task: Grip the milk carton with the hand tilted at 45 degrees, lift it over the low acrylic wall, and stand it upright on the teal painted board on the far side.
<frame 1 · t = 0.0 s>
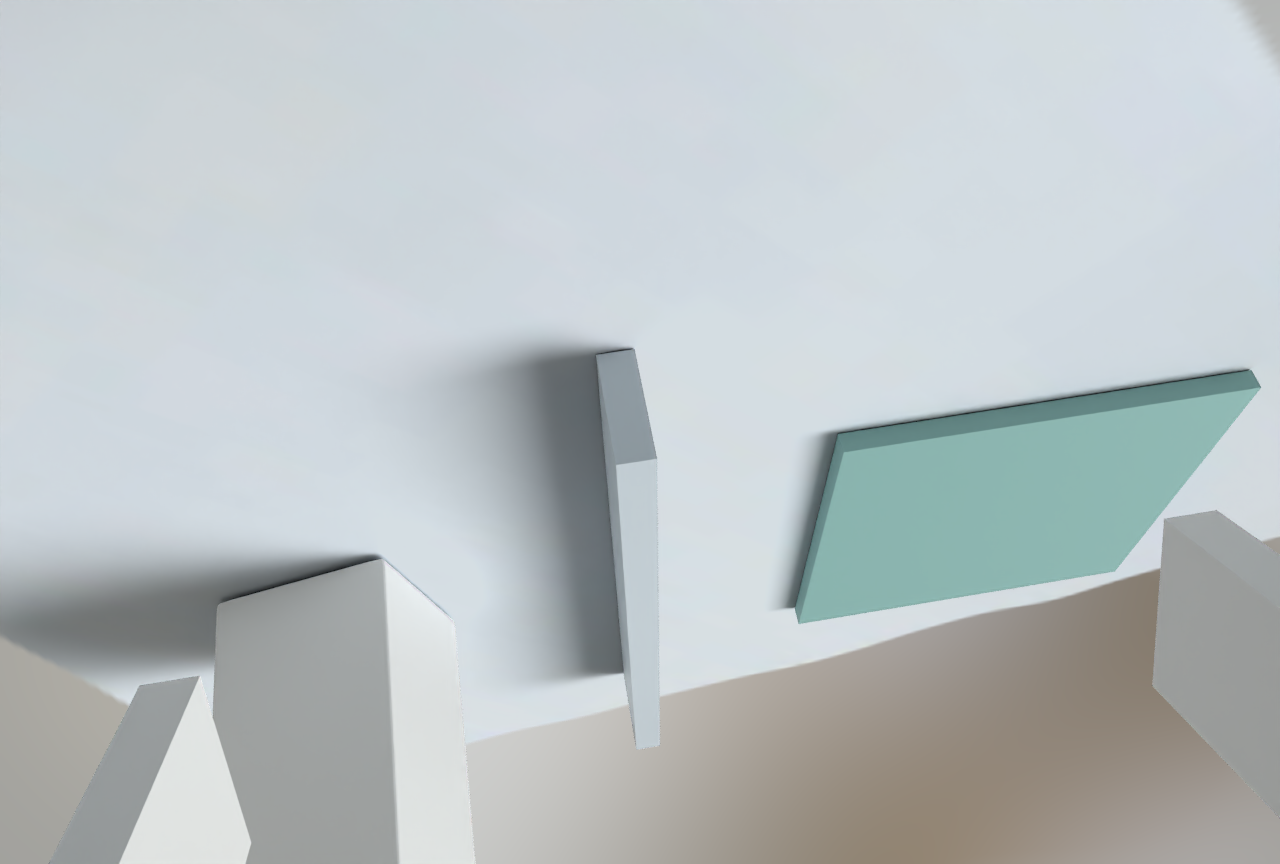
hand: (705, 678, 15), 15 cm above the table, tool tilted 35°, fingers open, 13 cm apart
milk carton: (341, 604, 46), on the table
acrylic wall: (627, 552, 46), on the table
teal board: (993, 504, 48), on the table
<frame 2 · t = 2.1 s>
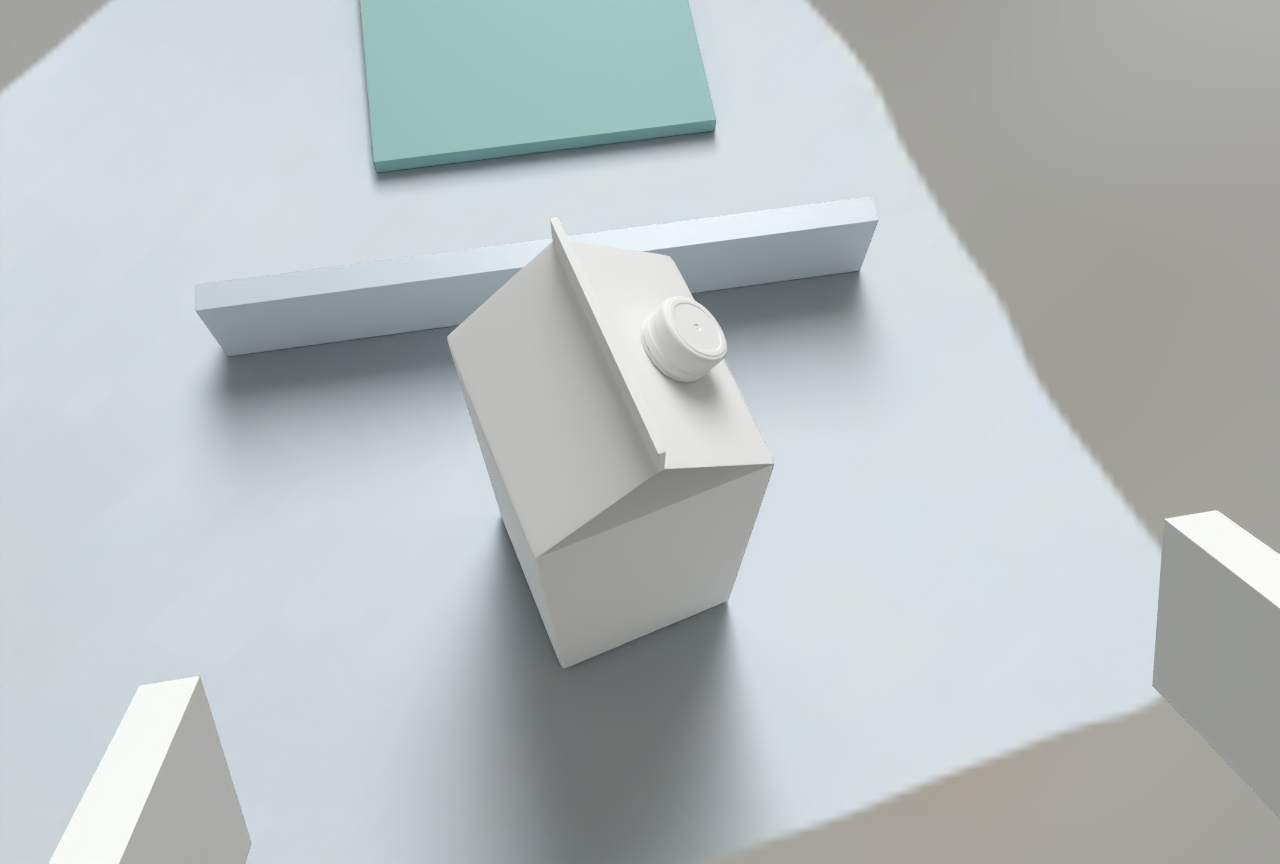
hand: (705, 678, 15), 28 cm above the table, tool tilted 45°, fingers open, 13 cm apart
milk carton: (612, 556, 45), on the table
acrylic wall: (549, 300, 49), on the table
teal board: (527, 21, 56), on the table
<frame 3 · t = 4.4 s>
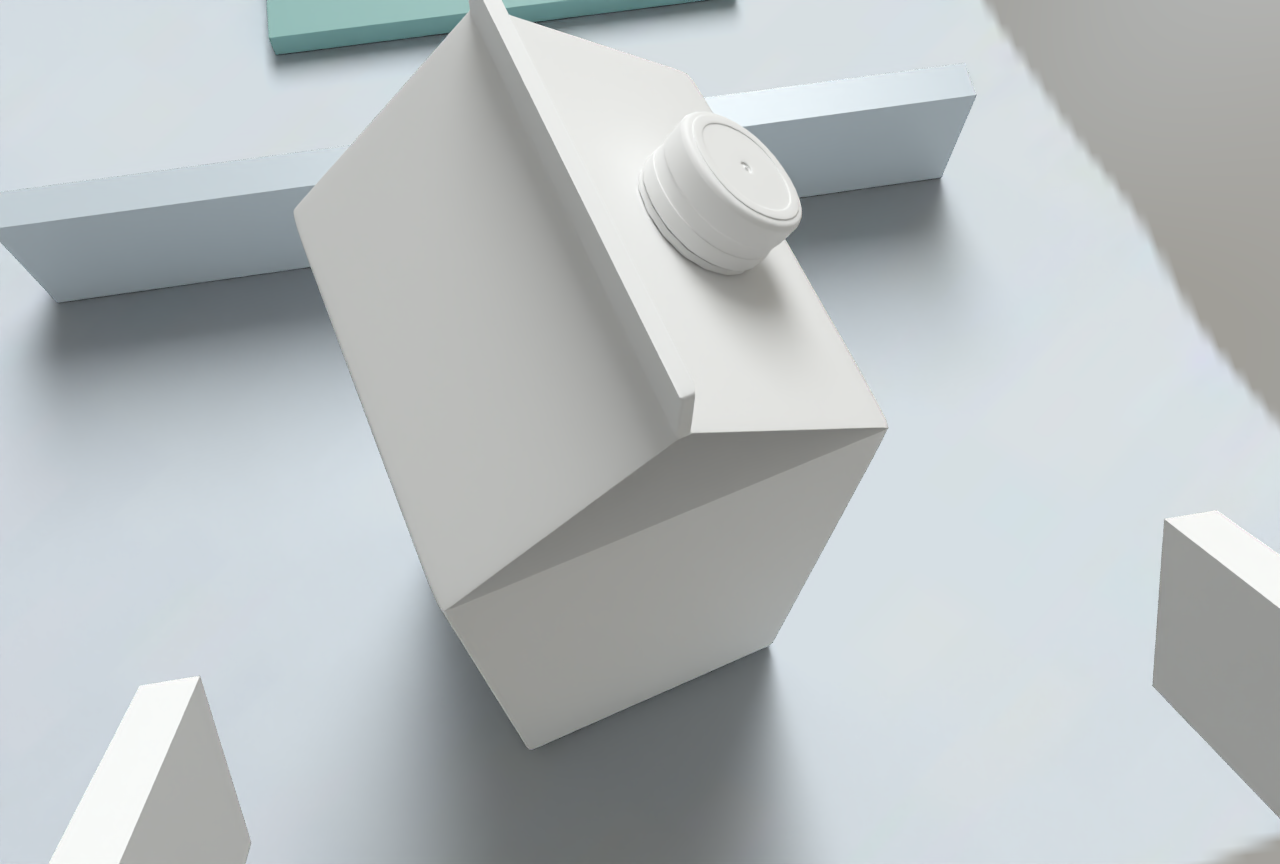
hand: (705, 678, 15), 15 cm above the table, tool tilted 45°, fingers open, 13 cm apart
milk carton: (601, 581, 31), on the table
acrylic wall: (510, 222, 35), on the table
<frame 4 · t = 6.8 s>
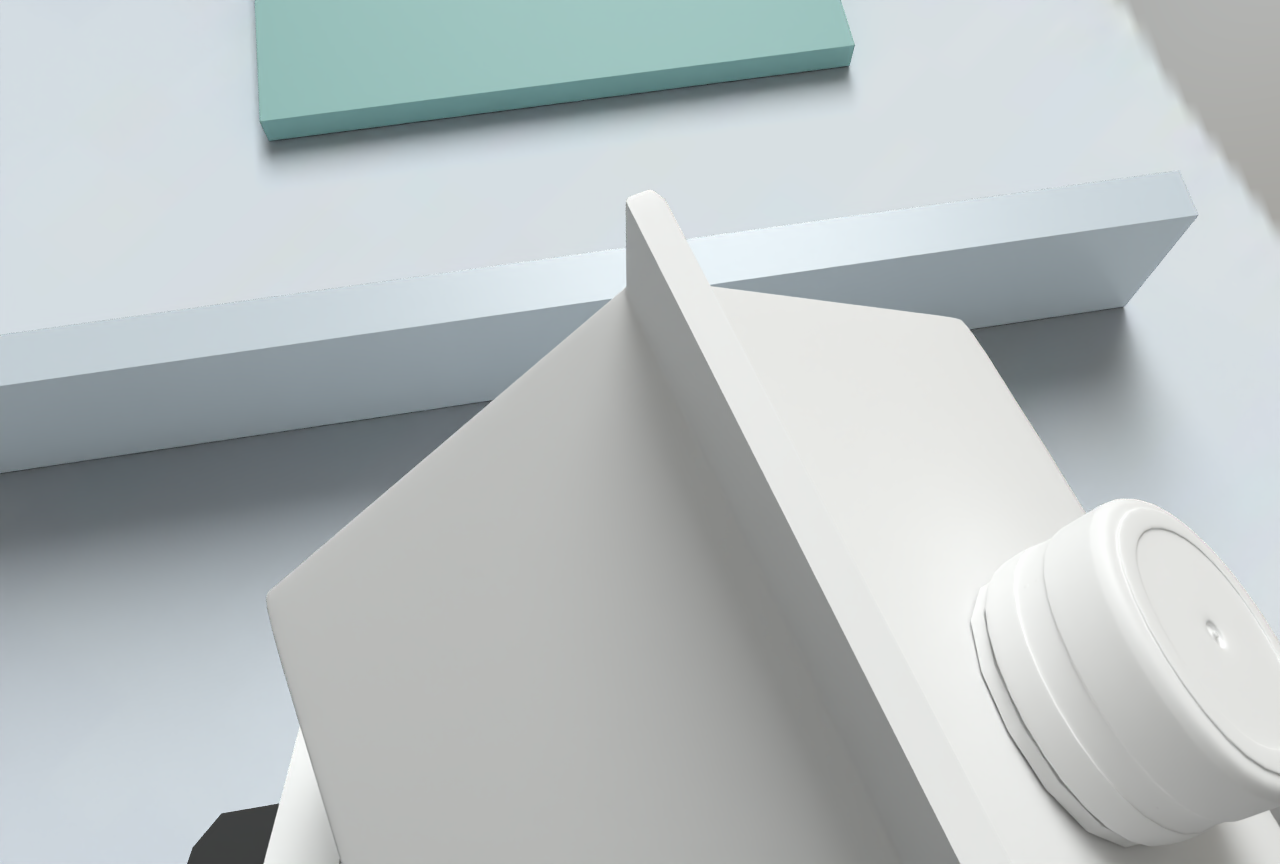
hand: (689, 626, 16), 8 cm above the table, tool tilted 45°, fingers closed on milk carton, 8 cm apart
acrylic wall: (569, 366, 27), on the table
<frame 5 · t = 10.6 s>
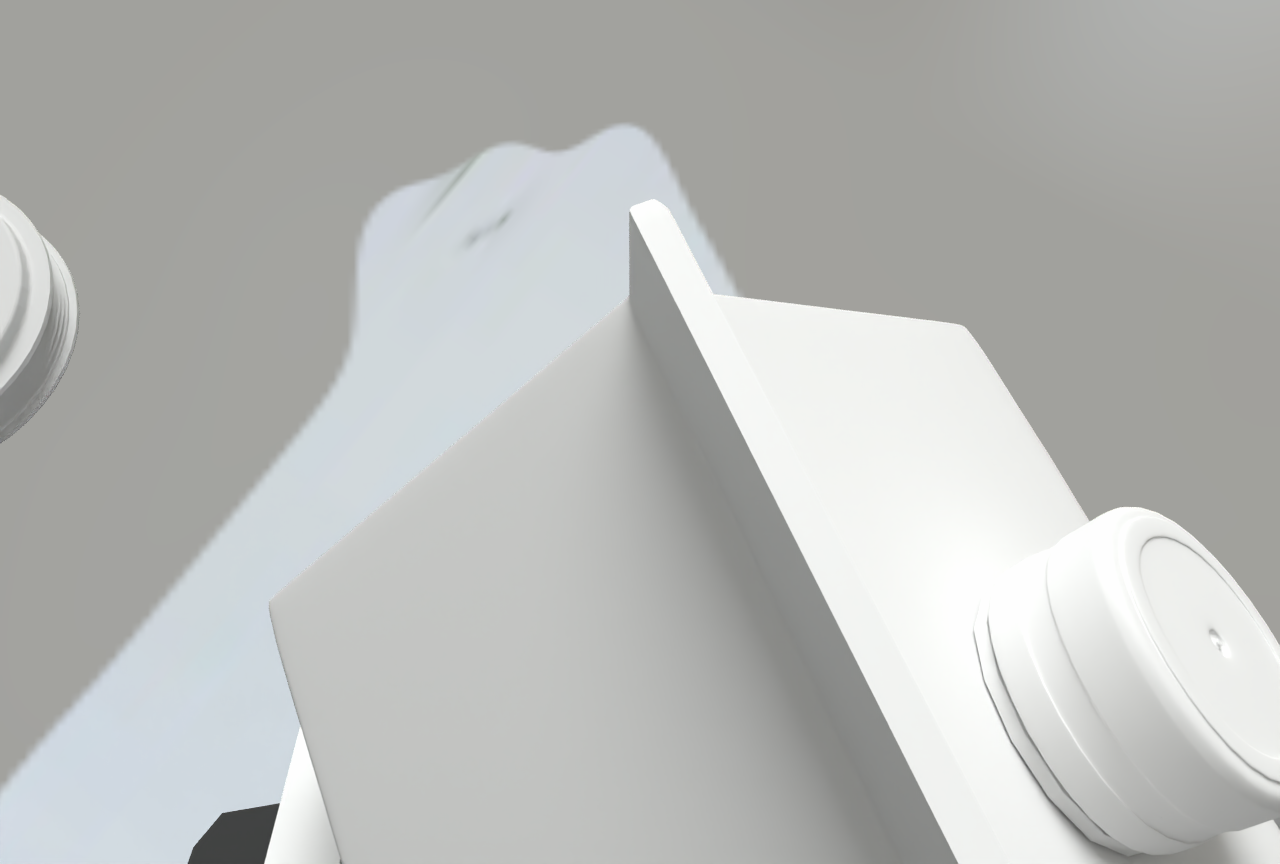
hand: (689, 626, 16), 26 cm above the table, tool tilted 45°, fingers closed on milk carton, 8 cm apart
when the fingers open (11 cm above the table, at t = 14.5 s): milk carton drops 2 cm, resting on teal board.
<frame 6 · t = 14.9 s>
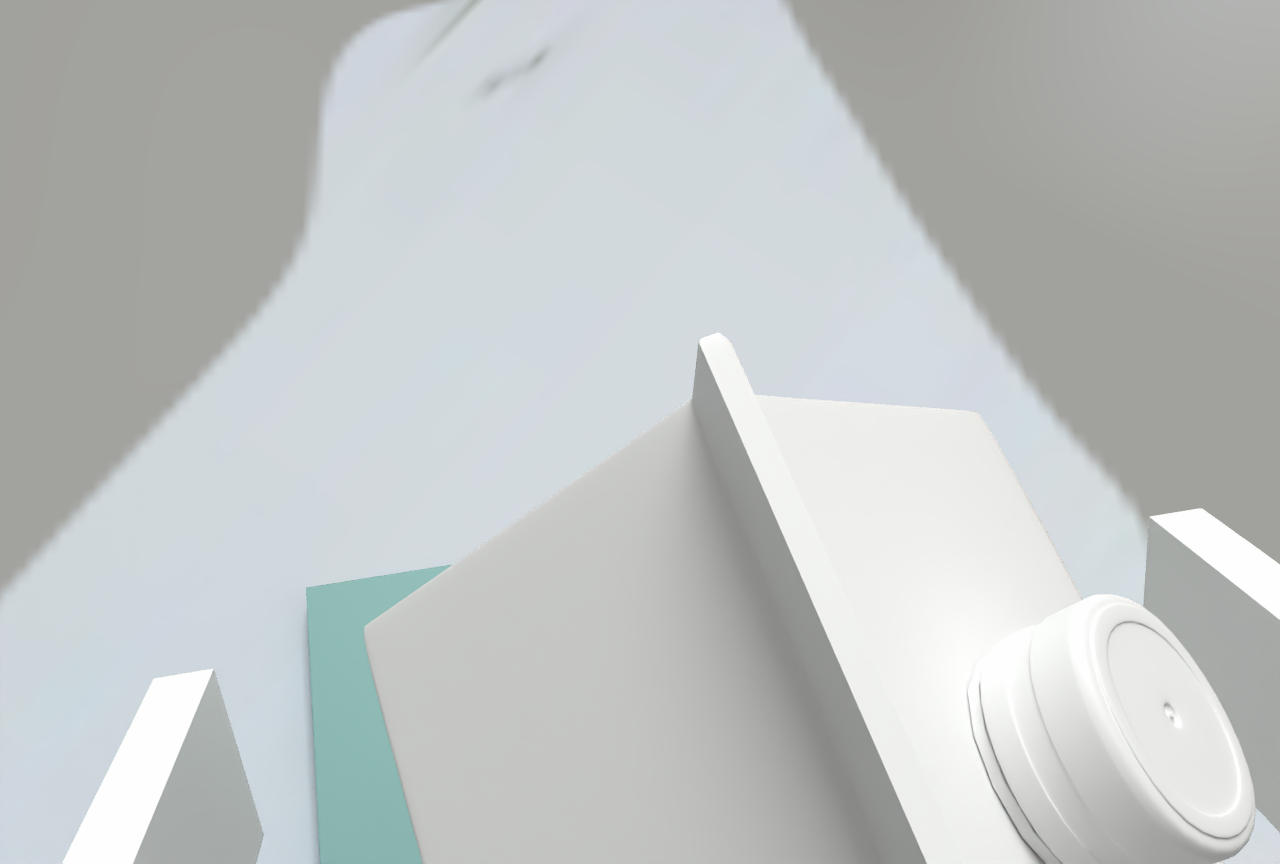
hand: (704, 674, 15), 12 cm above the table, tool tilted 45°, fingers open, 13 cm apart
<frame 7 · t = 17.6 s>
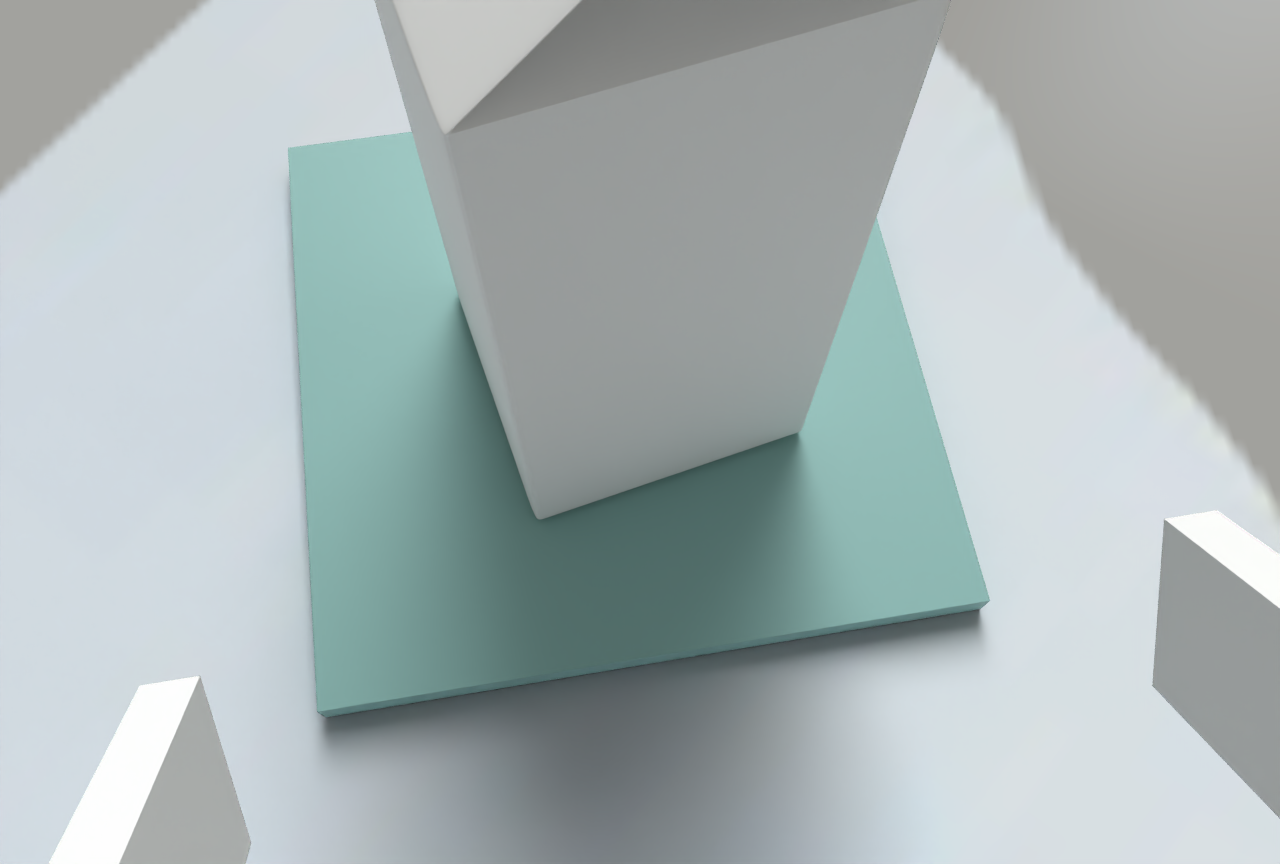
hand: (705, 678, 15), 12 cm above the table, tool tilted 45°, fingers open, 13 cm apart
milk carton: (624, 363, 29), point 1 cm above the table, touching teal board
teal board: (609, 368, 30), on the table
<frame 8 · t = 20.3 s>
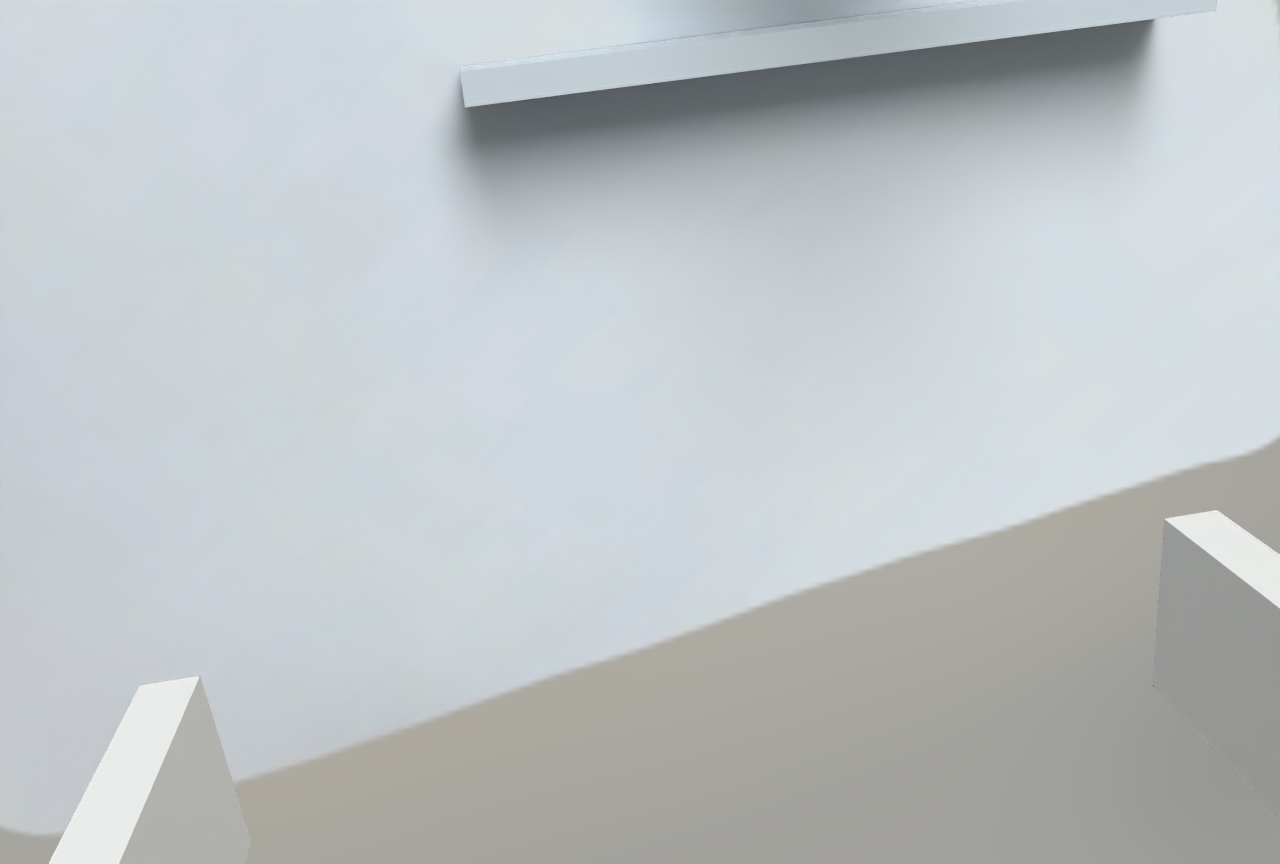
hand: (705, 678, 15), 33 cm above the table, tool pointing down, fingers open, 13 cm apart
acrylic wall: (819, 36, 44), on the table
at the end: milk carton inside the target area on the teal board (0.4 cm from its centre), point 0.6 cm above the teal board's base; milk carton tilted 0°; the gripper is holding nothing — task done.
